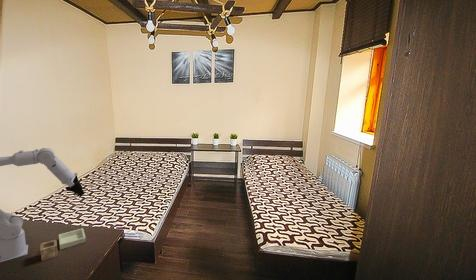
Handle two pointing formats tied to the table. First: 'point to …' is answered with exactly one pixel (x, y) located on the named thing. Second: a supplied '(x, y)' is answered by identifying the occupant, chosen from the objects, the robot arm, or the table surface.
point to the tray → (72, 238)
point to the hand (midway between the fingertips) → (81, 192)
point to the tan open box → (48, 250)
